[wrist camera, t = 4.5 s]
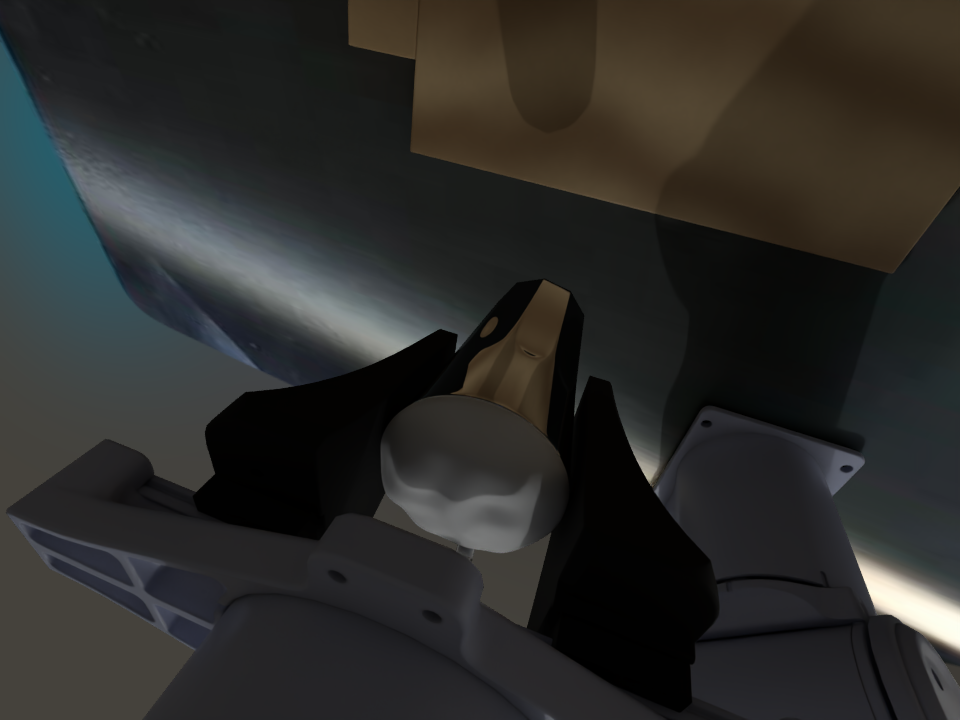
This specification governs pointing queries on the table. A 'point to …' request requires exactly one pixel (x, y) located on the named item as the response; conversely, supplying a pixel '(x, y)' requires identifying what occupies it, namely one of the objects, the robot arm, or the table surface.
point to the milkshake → (493, 427)
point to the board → (699, 107)
